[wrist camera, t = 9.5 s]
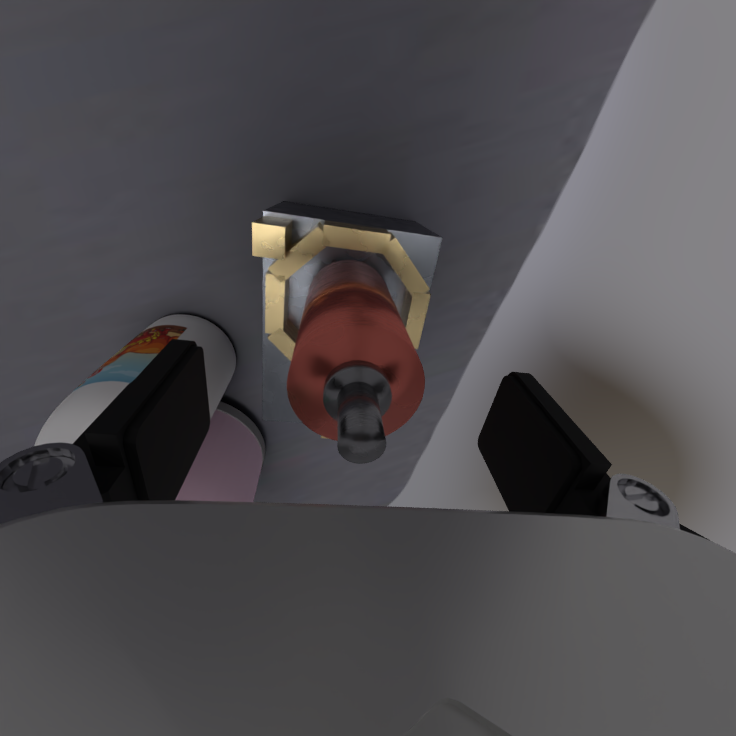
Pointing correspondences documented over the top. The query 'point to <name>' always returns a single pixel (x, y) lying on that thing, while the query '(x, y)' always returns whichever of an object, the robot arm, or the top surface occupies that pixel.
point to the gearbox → (315, 251)
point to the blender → (226, 460)
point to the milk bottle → (130, 363)
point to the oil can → (353, 362)
